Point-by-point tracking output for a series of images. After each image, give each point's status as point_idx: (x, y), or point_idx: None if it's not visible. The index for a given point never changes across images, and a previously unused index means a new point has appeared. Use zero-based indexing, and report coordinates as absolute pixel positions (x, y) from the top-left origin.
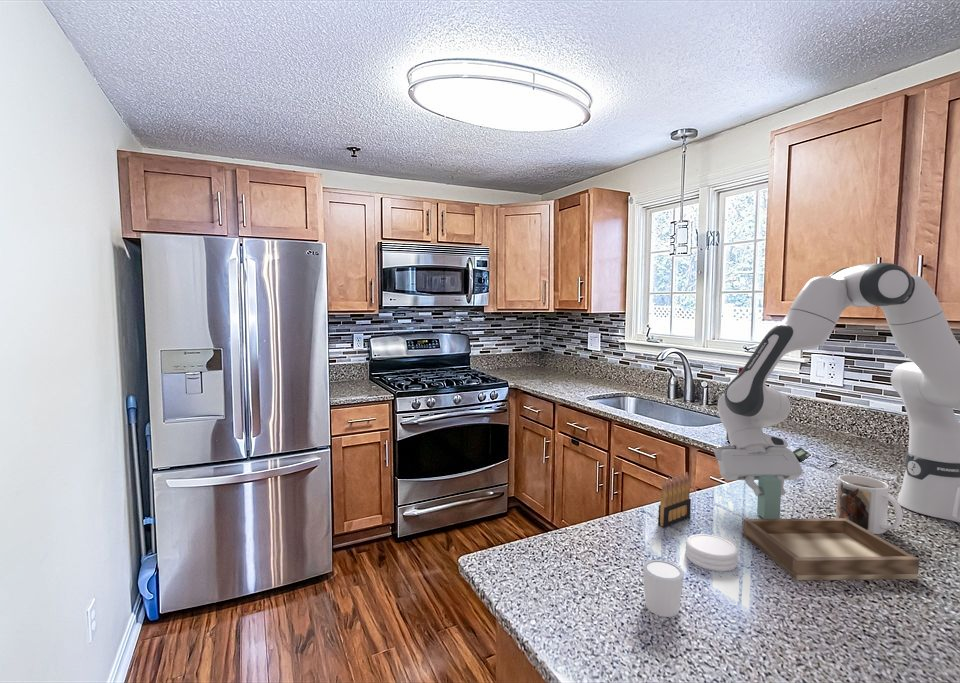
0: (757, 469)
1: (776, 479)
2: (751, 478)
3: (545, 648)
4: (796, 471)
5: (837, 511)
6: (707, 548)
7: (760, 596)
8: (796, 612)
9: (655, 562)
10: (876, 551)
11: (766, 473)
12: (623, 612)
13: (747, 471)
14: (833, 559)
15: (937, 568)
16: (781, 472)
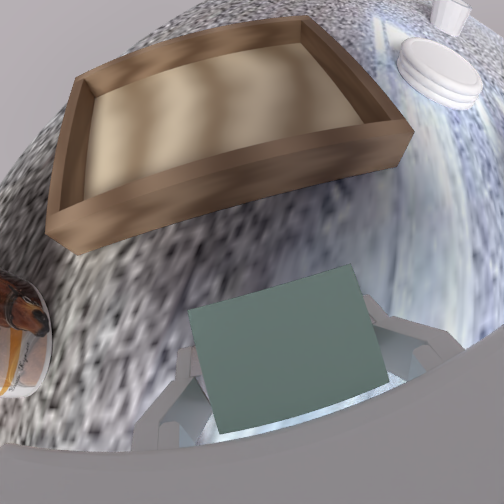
0: (420, 424)
1: (232, 322)
2: (439, 349)
3: (477, 21)
4: (14, 456)
5: (27, 347)
6: (445, 53)
7: (361, 25)
8: (322, 12)
9: (465, 5)
10: (87, 141)
11: (309, 424)
12: (464, 30)
13: (501, 349)
14: (237, 24)
15: (31, 153)
16: (126, 461)
